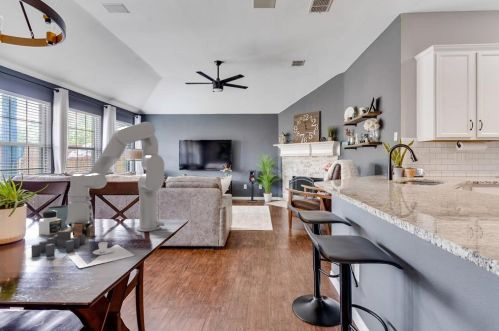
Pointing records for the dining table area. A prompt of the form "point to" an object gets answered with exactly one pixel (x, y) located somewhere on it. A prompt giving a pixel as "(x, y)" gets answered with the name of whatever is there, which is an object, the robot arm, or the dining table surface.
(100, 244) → the teacup and saucer
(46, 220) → the medicine bottle
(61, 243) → the wooden toy mallet
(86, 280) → the dining table surface
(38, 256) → the board
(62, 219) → the grey cup
